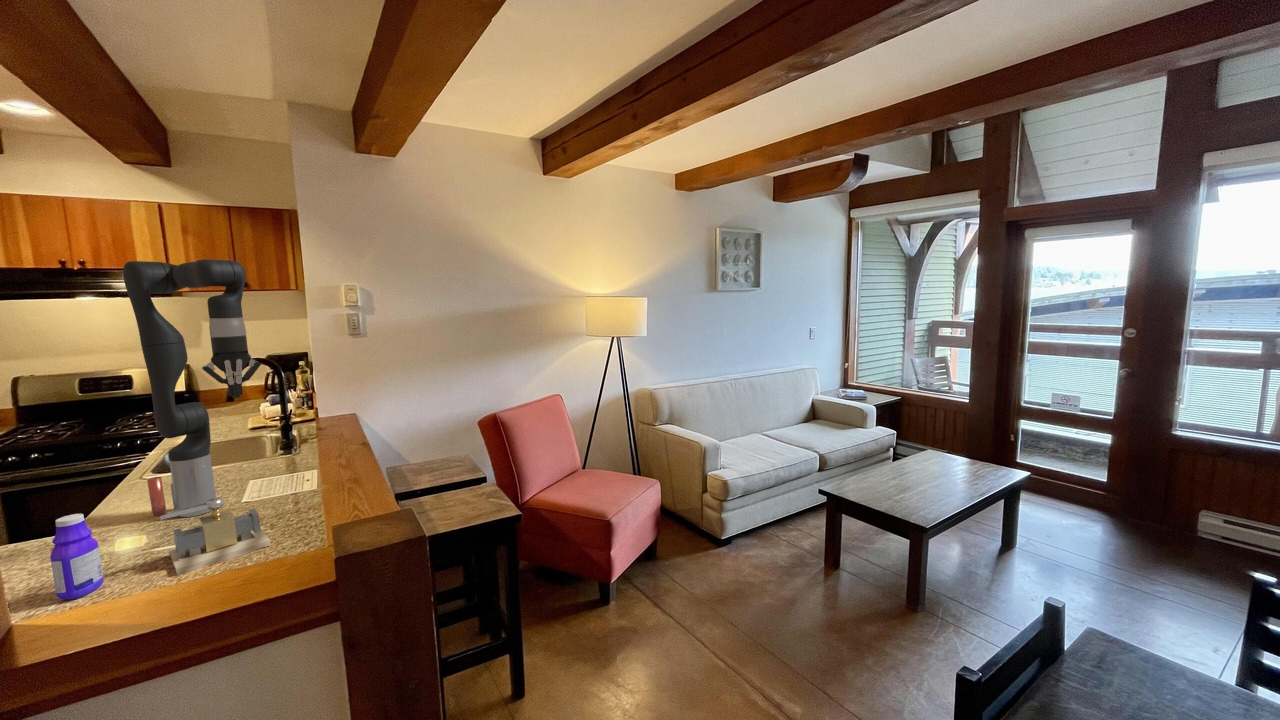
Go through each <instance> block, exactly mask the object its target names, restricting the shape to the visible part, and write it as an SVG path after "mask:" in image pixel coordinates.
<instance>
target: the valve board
mask: <svg viewBox="0 0 1280 720" xmlns="http://www.w3.org/2000/svg"><path fill="white" fill-rule="evenodd" d="M260 530H261V532H259V533H254V531H251V539H249V540H246V541H241V540H240V538H239V537H238V535H236V536H237V543H236V544H233V545H229V546H226V547H223V548H219V549H216V550H213V551H209V552H206V550H205V548H204V546H203V545H202V546H200V550H201V554H199V555H196V556H193V557H190V555H189V553H188V550H185V554H184V555H181V556H179V555H178V553H177V551H176V547H175V548H173V549H169V550H168V552H169V558H170V560H171V562H172V565H173V568H174V571H175V574H176V576H179V575H184V574H186V573H190V572H193V571H197V570H199V569H203V568H205V567H208V566H212V565H215V564H218V563H221V562H224V561H227V560H230V559H234V558H237V557H241V556H244V555H247V554H250V553H253V552H256V551H258V550H257V549H259V550H261V549H260V548H262V549H264V548H263V547H266V548H268V547H267V546H269V547H271V546H272V543H271V539H270V538H269V537H268V536H267V534H266V533H265V532H264V531H263V529H261V528H260ZM255 550H256V551H255ZM252 551H253V552H252ZM249 552H250V553H249ZM246 553H247V554H246Z"/></svg>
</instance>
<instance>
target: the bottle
mask: <svg viewBox="0 0 1280 720" xmlns="http://www.w3.org/2000/svg"><path fill="white" fill-rule="evenodd" d="M84 516H85V515H84V513H73V514H69V515H64V516H61V517H59V518H57V519H55V522H54V523H55V535H54V537H53V539H52V543H53V545H54V547H52V551H51V552H50V556H49V557H50V563H51V564H50V565H51V570H52V578H53V582H54V588H55V595H56V597H57V598H58V599H59V600H61V599H67V600H68V599H69V600H74V599H73V598H76V599H79V598H81V597H80V596H82V597H84V596H86V595H88V594H90V593H92V592H93V591H96V590H98V589H99V588H100V587H101V586H102V585H103V583H104V576H103V575H104V573H103V567H102V561H101V555H100V548H99V543H98V541H97V540H96V538H94V537H93V536H92V534H93V530H92V529H90V528H89V527H88V526H87V524H86V519H85V517H84ZM78 597H79V598H78Z"/></svg>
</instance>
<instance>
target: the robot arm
mask: <svg viewBox="0 0 1280 720" xmlns="http://www.w3.org/2000/svg"><path fill="white" fill-rule="evenodd" d="M122 275H123V276H122V277H123V281H124V286H125V289H126V292H127V295H128V298H129V301H130V304H131V306H132V310H133V313H134V316H135V319H136V326H137V328H138V334H139V339H140V346H141V350H142V354H143V355H142V356H143V359H144V362H145V366H146V370H147V375H148V379H149V383H150V390H151V399H152V407H153V408H152V409H153V417H154V424H155V426H156V430H157V432H158V433H159V435H160V436H161V437H163V439H164V438H165V439H174V438H179V437H183V436H185V438H184V439H183V440H182V441H181V442H180V443H178V444H177V445H175V446H173V447H172V448H171V449H169V451H168V452H167V453H168V454H167V456H168V461H169V469H170V475H171V481H172V482H171V484H170V490H171V491H170V492H171V497H172V505H173V511H174V510H178V509H182V508H186V507H191V506H195V505H199V504H203V503H206V501H208V500H210V499H214V498H217V493H216V488H215V487H216V486H215V480H214V478H215V477H214V473H213V466H212V465H213V464H212V457H211V450H210V448H211V444H212V441H211V427H210V425H211V424H210V416H209V413H208V410H207V408H206V406H205V405H204V404H203V403H201V402H199V401H198V402H197V401H193V402H186V403H182V404H176V400H175V398H176V397H175V392H176V386H177V384H178V381H179V380H180V378H181V376H182V374H183V372H184V370H185V368H186V366H187V362H188V352H187V348H186V347H187V346H186V343H185V342H186V341H185V339H184V336H183V335H182V334H181V332H180V331H179V330H178V329H177V328H176V327H175V326H174V325H173V324H171V322H169V321H168V319H166V318H165V317H164V316H163V315H162V314H161V313H160V312H159V311H158V309H157V308H156V306H155V304H154V302H153V299H152V297H151V295H152V294H153V295H156V294H159V295H162V294H163V295H164V294H172V293H175V292H178V291H181V290H183V289H189V288H190V289H199V288H210V287H225V289H224V290H223V293H222V294H217V295H213V296H210V297H208V299H207V303H206V304H207V309H208V318H209V325H208V326H209V328H208V329H209V336H210V337H209V338H210V343H211V352H212V356H211V358H210V362H208V363H207V364H206V365H203V366H202V368H201V370H202V371H204V372H205V373H206V374H208V375H209V376H210V377H212V378H213V379H214V380H216V381H217V382H218V383H220V384H225V385H227V390H228V395H229V397H231V398H233V399H238V398H241V396H243V394H244V391H243V383H245V382H248V381H249V380H250V379H251V378H252V377H253V376H254V374H255V373H256V372H257V370H258V369H259V368H260V367H261V365H262V363H261V362H260V361H257V360H255V359H252V356H251V354H250V353H249V348H248V340H247V338H248V337H247V329H246V324H245V322H244V317H243V308H242V307H243V305H242V302H243V301H242V299H243V294H244V290H245V284H246V281H247V280H246V279H247V272H246V269H245V267H244V266H243V265H242V264H241V263H240V261H236V260H232V259H231V260H229V259H228V260H227V259H209V258H207V259H198V260H195V261H191V262H184V263H180V264H179V265H178V264H173V263H167V262H163V261H144V260H143V261H140V260H133V261H132V260H130V261H127V262H125V264H124V266H123V269H122ZM247 366H248V367H249V368H248V369H247V370H246V372H245V373H244V374H243V370H244V369H245V368H246V367H247ZM216 368H217V369H219V370H220V371H221V372H223V373H224V377H225V378H223V377H222V376H221V375H220V374H218V373H217V372H215V370H216ZM233 376H234V377H233ZM209 512H211V510H208V509H203V510H199V511H195V512H191V513H187V514H183V515H178V516H177V517H178V518H179V517H180V518H188V517H189V518H190V517H195V516H200V515H201V516H202V515H204V514H207V513H209Z"/></svg>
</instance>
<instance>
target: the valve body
mask: <svg viewBox="0 0 1280 720" xmlns="http://www.w3.org/2000/svg"><path fill="white" fill-rule="evenodd" d="M210 512H211V513H210V514H211V515H207V516H202V517H199V518H198V520H199V526H198V527H194V528H191V529H187V530H183V531H182V530H181V528H176V529H173V530H172V531H173V538H174V544H175V548H176V551H177V553H178V555H179V556H181V555H184V554H185V550H188V553H189V555H190V557H193V556H196V555H199V554H201V550H200V546H202V545H203V546H204V548H205V550H206V552H209V551H213V550H216V549H219V548H223V547H226V546H229V545H233V544H236V543H237V536H236V535H238V537H239V538H240V540H241V541H246V540H249V539H251V531H254V533H259V532H261V530H262V529H261V524H260V516H259V515H260V514H259V513H258V511H256V509H255V508H251V509H248V513H245V514H241V515H238V516H234V515H233V513H232V512H231V510H226V511H221V507H220V508H217V509H212V510H211V511H210ZM260 529H261V530H260Z"/></svg>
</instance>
